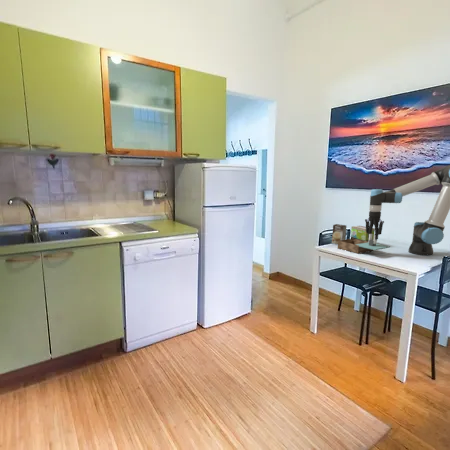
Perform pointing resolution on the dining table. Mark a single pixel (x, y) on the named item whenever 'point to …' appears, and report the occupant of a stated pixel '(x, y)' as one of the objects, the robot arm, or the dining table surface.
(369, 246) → the cover plate
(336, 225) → the coffee box
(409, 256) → the dining table surface
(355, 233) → the tea box
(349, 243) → the walnut box
